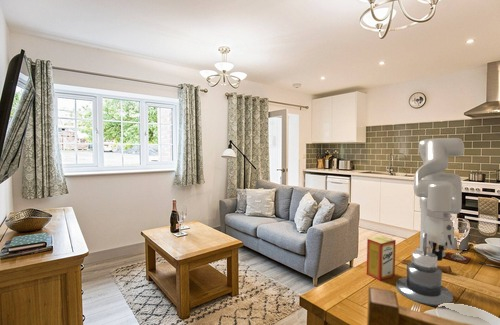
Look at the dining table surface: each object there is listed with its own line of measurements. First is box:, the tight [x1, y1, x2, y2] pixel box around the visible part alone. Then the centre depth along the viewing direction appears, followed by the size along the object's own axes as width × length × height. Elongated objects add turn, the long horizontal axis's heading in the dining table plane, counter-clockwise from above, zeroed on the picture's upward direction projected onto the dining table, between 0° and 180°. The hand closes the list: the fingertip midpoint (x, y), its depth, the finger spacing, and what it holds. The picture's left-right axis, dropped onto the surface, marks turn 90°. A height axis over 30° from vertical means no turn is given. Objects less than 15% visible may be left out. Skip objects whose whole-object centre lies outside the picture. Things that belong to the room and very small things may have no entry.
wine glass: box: [450, 233, 470, 251], centre depth 146 cm, size 10×10×15 cm
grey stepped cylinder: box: [395, 262, 454, 307], centre depth 99 cm, size 18×18×10 cm
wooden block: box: [411, 233, 438, 272], centre depth 103 cm, size 18×8×13 cm, turn 142°
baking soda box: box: [366, 235, 397, 282], centre depth 113 cm, size 10×6×16 cm
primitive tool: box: [401, 259, 453, 275], centre depth 122 cm, size 19×6×4 cm, turn 53°
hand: (436, 259), depth 104 cm, fingers closed
